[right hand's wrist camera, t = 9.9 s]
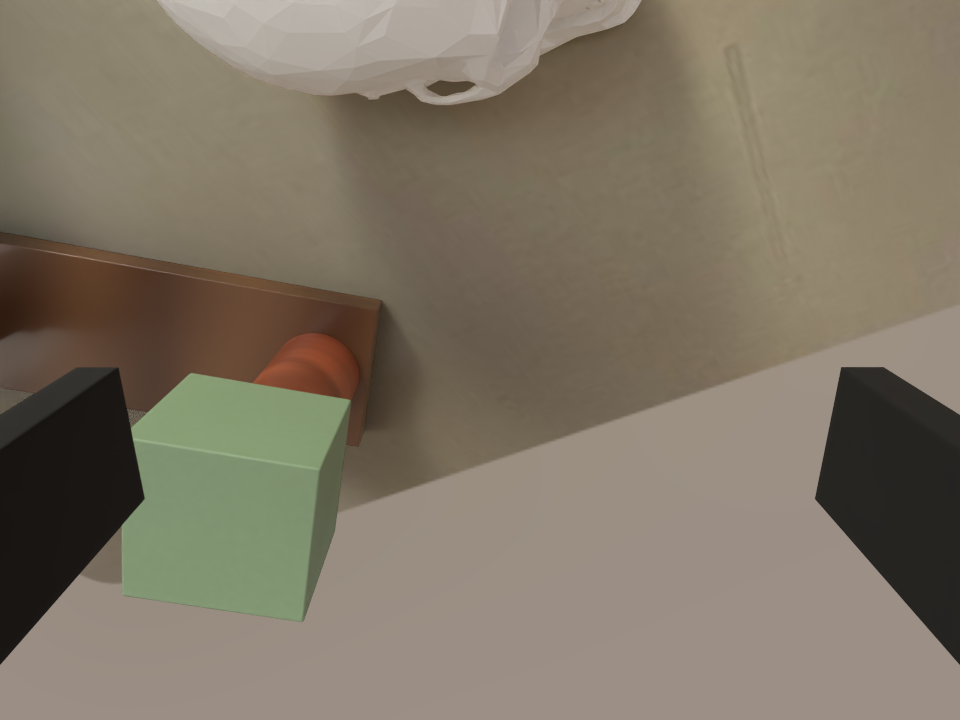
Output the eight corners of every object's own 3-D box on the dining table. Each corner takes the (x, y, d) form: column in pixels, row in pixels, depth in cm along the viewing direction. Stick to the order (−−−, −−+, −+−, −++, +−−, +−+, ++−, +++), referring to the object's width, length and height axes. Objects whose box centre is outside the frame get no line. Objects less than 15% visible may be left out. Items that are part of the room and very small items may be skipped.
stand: (-51, 363, 42) (-351, 508, 27) (-67, 219, 38) (-416, 293, 23) (363, 432, 43) (301, 605, 28) (382, 300, 40) (322, 417, 25)
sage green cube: (186, 508, 31) (121, 596, 26) (190, 371, 29) (119, 436, 23) (335, 531, 32) (303, 623, 26) (352, 399, 29) (320, 469, 24)
